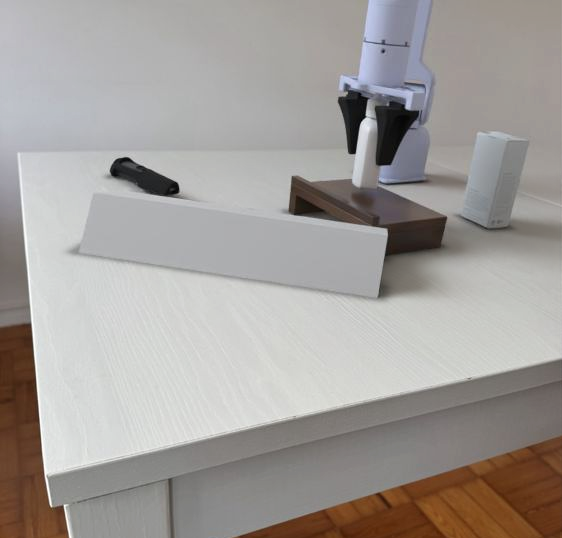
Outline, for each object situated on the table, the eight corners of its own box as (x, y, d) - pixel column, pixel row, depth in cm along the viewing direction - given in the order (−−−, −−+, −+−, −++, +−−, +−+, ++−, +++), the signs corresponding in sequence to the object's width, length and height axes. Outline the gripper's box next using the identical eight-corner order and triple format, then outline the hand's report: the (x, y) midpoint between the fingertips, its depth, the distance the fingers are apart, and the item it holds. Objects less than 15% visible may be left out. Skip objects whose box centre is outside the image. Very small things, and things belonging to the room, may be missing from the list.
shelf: (356, 204, 89) (361, 170, 86) (440, 246, 76) (449, 208, 73) (288, 211, 83) (291, 175, 81) (366, 258, 70) (373, 217, 68)
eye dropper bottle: (387, 184, 81) (403, 89, 75) (371, 192, 77) (387, 92, 71) (358, 177, 83) (371, 84, 77) (341, 185, 79) (354, 87, 73)
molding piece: (369, 324, 73) (382, 247, 74) (377, 300, 61) (392, 209, 63) (116, 283, 76) (133, 210, 78) (78, 252, 65) (99, 168, 66)
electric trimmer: (162, 205, 82) (162, 182, 80) (107, 175, 91) (106, 154, 89) (186, 201, 84) (186, 179, 82) (129, 173, 93) (129, 152, 92)
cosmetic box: (509, 227, 86) (534, 140, 79) (485, 229, 84) (509, 140, 78) (479, 213, 90) (501, 130, 84) (456, 215, 88) (477, 130, 82)
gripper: (325, 36, 75) (313, 147, 82) (400, 49, 65) (379, 175, 71) (369, 39, 78) (354, 145, 85) (447, 51, 68) (423, 172, 75)
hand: (368, 159), depth 79 cm, fingers closed on eye dropper bottle, 5 cm apart
